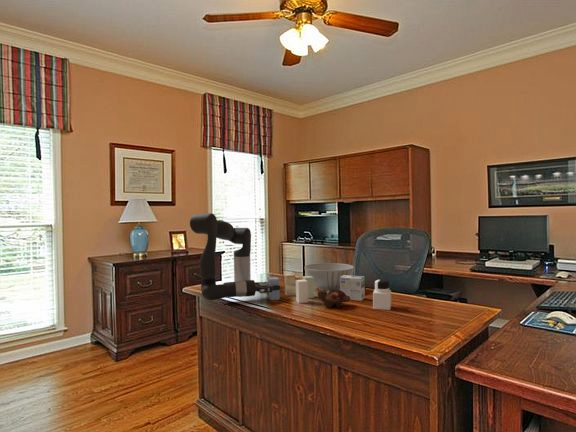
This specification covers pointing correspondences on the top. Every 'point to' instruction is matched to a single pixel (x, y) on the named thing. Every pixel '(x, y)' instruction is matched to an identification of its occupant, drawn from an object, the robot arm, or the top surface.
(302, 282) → the ivory pillar
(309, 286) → the sage pillar
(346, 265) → the decorative bowl
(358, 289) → the light bulb box
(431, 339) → the top surface
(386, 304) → the medicine bottle
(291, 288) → the maple pillar
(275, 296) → the slate-blue pillar
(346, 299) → the decorative turtle
